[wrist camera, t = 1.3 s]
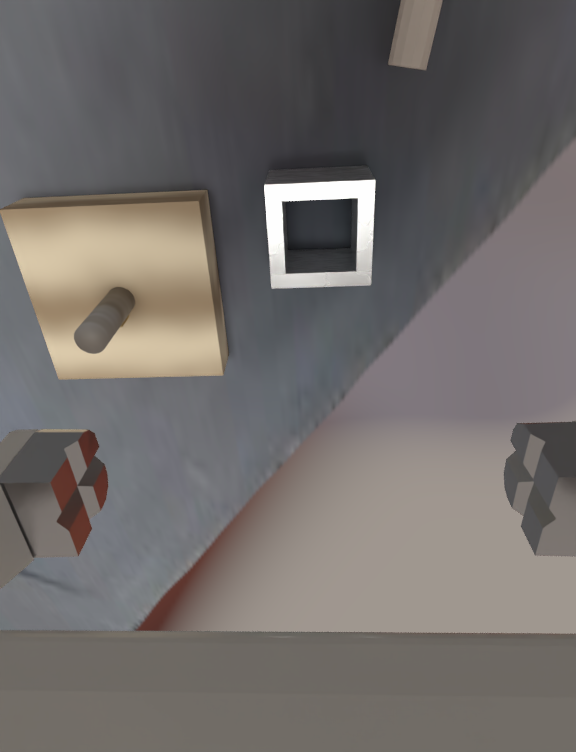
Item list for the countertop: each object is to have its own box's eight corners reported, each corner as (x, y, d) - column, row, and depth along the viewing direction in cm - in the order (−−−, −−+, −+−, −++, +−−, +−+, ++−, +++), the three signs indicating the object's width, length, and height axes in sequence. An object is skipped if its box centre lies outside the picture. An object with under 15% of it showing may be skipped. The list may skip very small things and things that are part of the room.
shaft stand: (23, 198, 32) (-59, 237, 25) (207, 189, 31) (177, 227, 24) (75, 358, 38) (22, 426, 31) (228, 354, 38) (210, 422, 31)
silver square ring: (269, 170, 31) (264, 185, 27) (367, 165, 30) (375, 179, 27) (275, 263, 34) (271, 288, 30) (364, 260, 34) (371, 285, 30)
